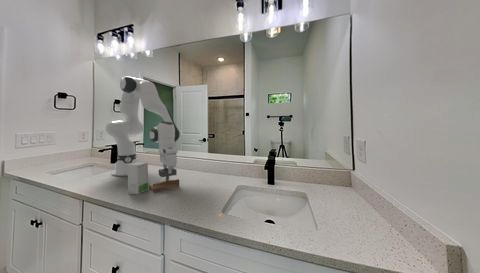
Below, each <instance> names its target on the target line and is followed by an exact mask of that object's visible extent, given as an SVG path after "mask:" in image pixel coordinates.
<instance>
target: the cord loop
mask: <svg viewBox="0 0 480 273" xmlns="http://www.w3.org/2000/svg"><path fill="white" fill-rule="evenodd" d="M177 171H178V170H177V168H176V167H172V173H171V174H169V173H168V167H167V169H164V168H159V169H158V176H159V177H160V178H166V177H167V176H169V177H171V176H177V173H178V172H177Z"/></svg>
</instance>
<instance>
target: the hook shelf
mask: <svg viewBox="0 0 480 273" xmlns="http://www.w3.org/2000/svg"><path fill="white" fill-rule="evenodd" d="M148 188H149V189H151V191H152V193H158V192H163V191H168V190H169V191H170V190H173V189H178V188H180V179H179V178H178V179H177V178H176V179H170V176H167V177H165V180H164V181H157V182H152V183H148Z"/></svg>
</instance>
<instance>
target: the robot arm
mask: <svg viewBox="0 0 480 273" xmlns="http://www.w3.org/2000/svg"><path fill="white" fill-rule="evenodd" d="M119 87H120V89H121V91H122V95H121V99H120V104H119V112H120V113H121V115H123V116H124V118H125V120H112V121H109V122H107V123H106V125H105V132H106V133H107V134H108V135H109V136H111V137H112V138H113V139H114V141H115V142H116V146H117V155H116V160H117V161H116V162H115V164H114V165H113V168H114V171H113V172H112V173H111V176H119V177H120V176H121V177H123V176H128V166H127V165H128V164H132V163H138V162H139V160H138V159H137V153H136V143H135V142H134V141H133V140H130V138H129V137H130V136H138V135H142V134H143V133H144V131H145V130H144V129H145V128H144V124H143V123H142V122H141V120H140V117H139V114H138V113H139V106H140V103H141V106H142V107H143V108H144V109H145V110H146V111H148V112H151V113H154V114H156V115H158V116H160V117H161V118H162V119H163V121H159V122H158V125H156V126H154V127H152V128H150V130H149V132H148V137H149V140H150V141H151V142H152V143H157V144H158V153H159V162H160V163H161V164H162V166H163V169H167V168H168V173H169V174H171V173H172V168H177V164H178V163H177V161H178V160H177V159H178V148H177V147H176V142H177V141H178V140H179V138H180V136H181V133H180V131H179V129H178V127H177V126H176V124H175V122H174V119H173V117H172V114H171V112H170V110H169V108H168V107H167V106H166V105H165V104H164V102H162V100H161V99H160V96H159V95H160V94H159V93H158V90H157V87H156V84H155V83H154V82H152V81H149V80H146V79H143V78H136V77H132V76H128V75H127V76H123V77H122V78H121V79H120V81H119Z"/></svg>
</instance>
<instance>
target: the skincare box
mask: <svg viewBox="0 0 480 273" xmlns="http://www.w3.org/2000/svg"><path fill="white" fill-rule="evenodd" d="M127 166H128V175H127V194H130V195H140V194H142V193H145V192H146V191H148V190H149V162H142V161H140V162H138V163H132V164H128V165H127Z"/></svg>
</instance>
